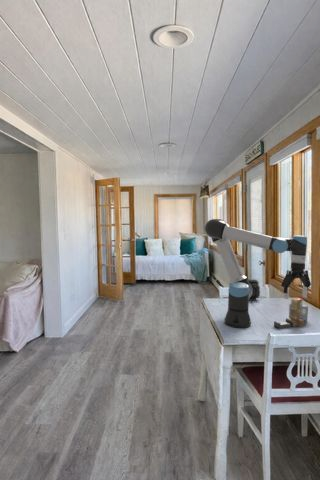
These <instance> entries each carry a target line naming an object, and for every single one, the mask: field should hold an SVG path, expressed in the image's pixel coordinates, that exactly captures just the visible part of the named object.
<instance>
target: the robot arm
mask: <svg viewBox="0 0 320 480" xmlns="http://www.w3.org/2000/svg"><path fill="white" fill-rule="evenodd" d="M204 232H205V234H206V235H207V237H209V238H211V240H212V243H213V244H215V245H216V248H217V250H218V252H219V255H220V258H221V259H222V262H223V265H224V267H225V270H226V273H227V275H228V278H229V282H228V284H229V285H228V289H227V291H228V297H227V298H228V301H227V305H228V306H227V312H226V315H225V316H224V324H225V325H226V326H229V327H232V328H238V329H246V328H249V327H251V326H252V319H251V316H250V313H249V304H250V303H249V301H250V300H249V299H250V297H251V296H252V293H253V288H252V286H251V284H250V283H249V282H248V280H249V279H248V277H247V276H246V275H244V274H243V273H244V272H243V271H242V269H241V266H240V263H239V261H238V258H237V256H236V253H235V251H234V249H233V246H232V243H231V241H234V242H238V243H242V244H246V245H250V246H253V247H256V248H257V247H258V248H261V249H265V250H269V251H272V252H275V253H277V254H283V253H285V252H291V260H290V261H291V262H290V269H291V270H289V269H288V270H286V274H285V276H284V278H283V281H282V282H281V284H280V286H281V287H283V295H284V296H283V298H284V300H289V299H290V298H289V296H290V288H289V287H290V286H291V285H292V283H293V281H295V280H296V279H299V280H300V281H301V283H302V285H303V286H302V290H301V291H302V292H301V298H304V299H307V297H308V292H309V291H308V290H309V288H310V287H311V286H312V283H311V279H310V277H309V270H306V257H307V247H308V237H307V236H306V235H293V237H292V238H288V237H287V238H286V237H274V236H271V235H266V234H263V233H258V232H254V231H250V230H247V229H242V228H238V227H234V226H230V225H229V224H228V223H227V222H226V221H225V220H223V219H221V218H212V219H209V220H208V221H207V222H206V223H205V225H204Z"/></svg>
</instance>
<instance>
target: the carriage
mask: <svg viewBox="0 0 320 480" xmlns="http://www.w3.org/2000/svg"><path fill="white" fill-rule="evenodd" d="M297 298H298V297H295V298H291V301H290V302H291V303H290V304H291V317H290V318H289V317H286V318H285V322H286V321H288V322H291V323H292V327H293V328H296V327H303V326H305V325H304V320H302V319H300V303H301V300H300V299H297ZM292 327H291V328H292Z"/></svg>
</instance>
